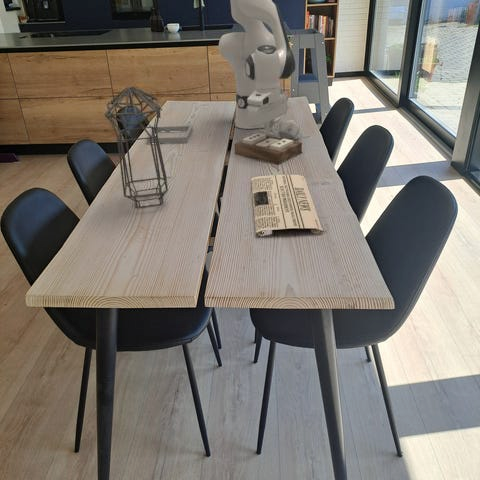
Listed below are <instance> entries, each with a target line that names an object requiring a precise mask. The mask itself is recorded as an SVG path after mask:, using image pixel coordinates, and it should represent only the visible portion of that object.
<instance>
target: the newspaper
mask: <svg viewBox="0 0 480 480" xmlns="http://www.w3.org/2000/svg"><path fill="white" fill-rule="evenodd" d="M250 183H251V196H252V197H251V199H252V207H253V209H252V210H253V221H254V232H255V237H257V238H259V236H260V237H262V236H261V235H263V234H264V232H263V233H262V231H266V230H272V231H273V230H289V229H310V233H312V234H316V235H321V234H323V232H324V231H323V227H322V224H321V222H320V219H319V216H318V213H317V210H316V207H315V205H314V202H313V199H312V196H311V192H310V191H309V187H308V183H307V181H306V178H305V176H303V175H300V174H273V175H272V174H271V175H262V176H260V175H259V176H255V177H252V178H250ZM257 235H258V236H257ZM268 236H271V235H270V234H269V235H268Z"/></svg>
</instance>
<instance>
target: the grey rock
mask: <svg viewBox="0 0 480 480" xmlns="http://www.w3.org/2000/svg"><path fill="white" fill-rule="evenodd" d="M300 130H301V127H300V126H299V125H298V123H296V121H295V120H294V119H292V118H291V119H286V120H281V121H280V124H279V126H278V130H277V131H276V133H277V134H278V135H279V136H280V138H282V139H289V140H293V141H296V140H297V136H298V135H299V132H300Z"/></svg>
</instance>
